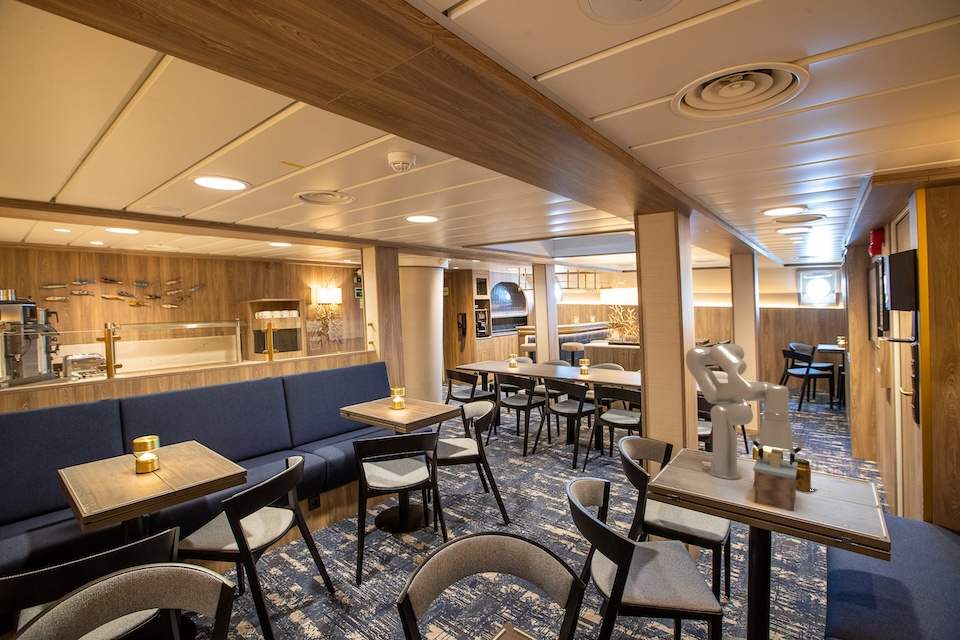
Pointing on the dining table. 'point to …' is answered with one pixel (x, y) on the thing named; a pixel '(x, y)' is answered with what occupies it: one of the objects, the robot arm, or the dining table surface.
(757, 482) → the box
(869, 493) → the dining table surface
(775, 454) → the lid
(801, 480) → the condiment
